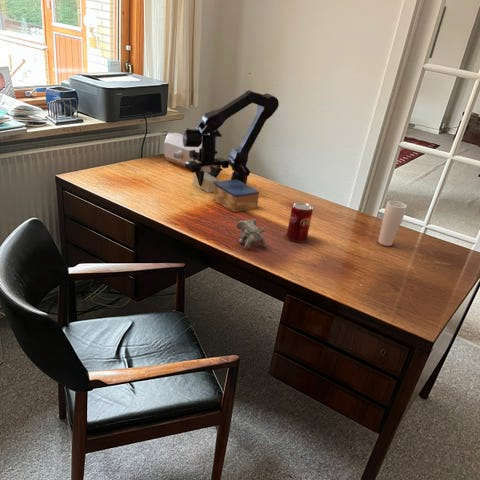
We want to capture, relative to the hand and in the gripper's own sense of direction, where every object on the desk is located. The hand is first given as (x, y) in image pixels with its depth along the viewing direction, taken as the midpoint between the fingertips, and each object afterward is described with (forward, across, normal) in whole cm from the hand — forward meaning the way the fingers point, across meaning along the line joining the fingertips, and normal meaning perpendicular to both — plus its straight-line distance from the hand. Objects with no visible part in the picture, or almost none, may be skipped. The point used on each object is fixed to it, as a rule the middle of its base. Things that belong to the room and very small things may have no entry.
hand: (205, 185), depth 201 cm
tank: (+1, -8, -26) cm, 27 cm away
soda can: (+1, 0, +55) cm, 55 cm away
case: (+1, 0, 0) cm, 1 cm away
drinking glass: (+1, -28, +73) cm, 78 cm away
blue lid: (-5, 0, +20) cm, 20 cm away
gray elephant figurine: (+1, +19, +50) cm, 54 cm away
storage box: (+1, 0, +20) cm, 20 cm away
